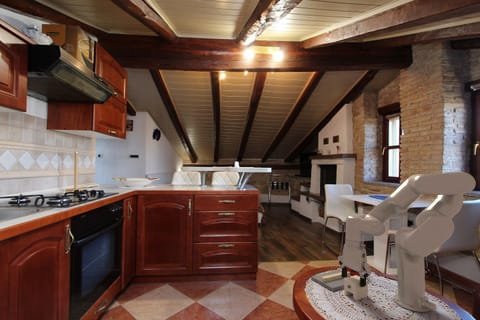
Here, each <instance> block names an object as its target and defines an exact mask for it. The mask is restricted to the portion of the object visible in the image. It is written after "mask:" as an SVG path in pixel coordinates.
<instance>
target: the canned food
mask: <svg viewBox="0 0 480 320" xmlns="http://www.w3.org/2000/svg"><path fill="white" fill-rule="evenodd" d="M346 268H347V271H348V272H350V275H351V276H355V275H356V276H359V277H361V275H360V274H359V272H357V271H355V270H353V269H350V268H348V267H346Z"/></svg>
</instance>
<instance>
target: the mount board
mask: <svg viewBox="0 0 480 320" xmlns="http://www.w3.org/2000/svg"><path fill="white" fill-rule="evenodd" d="M341 275H342V270H340V269H337V270H333V271H329V272H324V273H320V274H316V275H315V274H314V275H312V276H310V277H311V278H310V279H311V280H312V281H314V282H315V283H316V284H319V285H320V286H322V287H324V288H325V289H327V290H329V291H331V292H336V291H339V290H344V278H347V277H351V275H350V272H348V271H347V277H344V278H342V277H341Z"/></svg>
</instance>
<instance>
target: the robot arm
mask: <svg viewBox="0 0 480 320" xmlns="http://www.w3.org/2000/svg"><path fill="white" fill-rule="evenodd" d="M476 184H477V183H476V180H475V178H474V176H472V175H471V174H470V173H467V172H464V171H449V172H447V171H446V172H443V173H420V174H419V173H418V174H417V173H416V174H412V175H410V176H409V177H408V178H407V179H406V180H404V182H402V183H401V184H400V185H399V186H398V187H397V188H396V189H395V190H394V191H393V192H392V193H391V194H389V196H387V197H386V198H385V199H384V200H382V201H381V202H380V203H378V204H377V205H376V206H374V207H373V209H371V210H370V211H369V212H368V213H367V214H366V215H365V216H364V217H362V216H358V215H347V216H346V218H345V241H344V242H345V243H344V245H343V249H342V255H338V256H337V260H338V264H339V265H340V269H341V271H342V275H341V277H342V278H344V277H347V268H346V267H348V268H350V269H353V270H355V271H357V272H359V274H360V276H359V277H360V287H365V286H366V280H367V278H369V277H370V276H371V274H372V273H373V269H372V268H370V267H369V266H368V265H369V264H368V258H367V251H366V246H367V245H366V244H365V241H364V239H365V235H368V236H372V237H380V236H383V235H384V234H385V232H386V226H385V224H384V223H386V222H387V220H389V219H390V218H392V217H394V216H396V215H397V214H398V215H399V214H402V213H405V212H407V211H408V210H409V209H410V208H411V207H412V206H413V205H414V204H415V203H416V202H418V201H419V200H420V199H421V198H422V197H423V196H436V197H435V199H434V200H433V201H432V202H431V203H429V204H428V205H427V207H426V208H424V209H423V210H422V211H421V212H420V213H418V214H417V216H416V217H415V225H416V226H417V227H415V228H413V227H409V226H404V227H403V226H402V227H400V228H399V229H398V230H396V232H395V234H394V243H395V250H396V271H397V272H396V274H397V278H396V279H397V294H395V295H393V301H394V302H395V303H396V304H397V305H398V306H400V307H402V308H404V309H407V310H410V311H413V312H417V313H418V312H419V313H428V312H429V311H433V312H436V311H437V310H438V309H437V304H436V303H434V302H431V301H430V300H429V296H427V295H426V280H425V279H426V278H425V277H426V276H425V275H426V274H425V273H426V272H425V268H426V267H425V257H428V256H429V255H431V254H432V253H433V252H435V251H436V250H437V249H438V248H440V246H442V245H443V244H444V243H445V242H446V241H448V239H450V238H451V237H452V236H453V233H454V231H455V224H454V221H453V218H454V217H456V215H457V214H458V213H459V212H460V211H461V210H462V208H463V204H464V194H468V193H471V192H472V191H473V190H475V188H476Z"/></svg>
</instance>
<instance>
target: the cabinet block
mask: <svg viewBox="0 0 480 320" xmlns="http://www.w3.org/2000/svg"><path fill="white" fill-rule="evenodd" d="M360 277H361V276H356V275H355V276H351V277H347V278H344V288H343V293H344V295H345V296H349V295H352V297H353V300H354V301H359V300H362V299H365V298H368V297H369V286H368V285H369V281H368V279H366V286H365V287H360ZM367 296H368V297H367ZM364 297H365V298H364ZM361 298H362V299H361ZM358 299H359V300H358Z"/></svg>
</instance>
